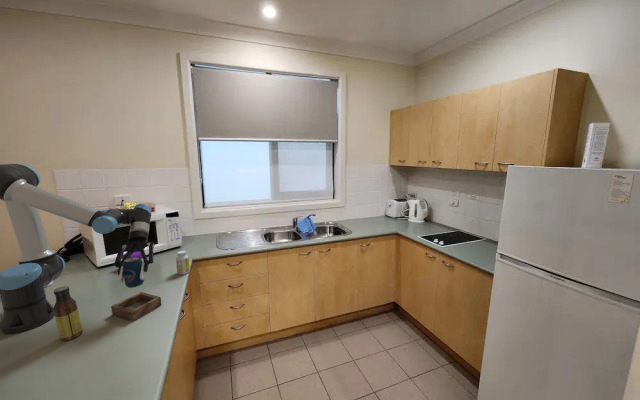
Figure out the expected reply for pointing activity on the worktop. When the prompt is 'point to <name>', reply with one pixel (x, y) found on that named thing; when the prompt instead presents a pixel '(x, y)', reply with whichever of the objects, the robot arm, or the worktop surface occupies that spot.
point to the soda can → (132, 272)
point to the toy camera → (136, 255)
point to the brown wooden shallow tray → (136, 306)
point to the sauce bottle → (66, 314)
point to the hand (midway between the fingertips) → (131, 280)
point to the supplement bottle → (182, 263)
